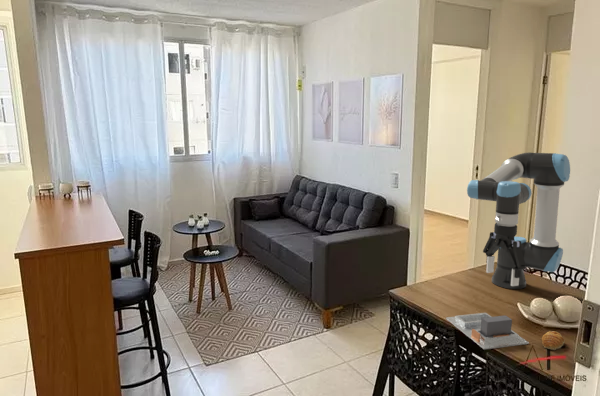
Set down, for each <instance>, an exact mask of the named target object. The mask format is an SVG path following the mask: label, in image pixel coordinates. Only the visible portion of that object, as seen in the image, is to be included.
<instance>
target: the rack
mask: <svg viewBox="0 0 600 396" xmlns="http://www.w3.org/2000/svg"><path fill="white" fill-rule="evenodd" d="M486 317H492V316H491V315H490V314H489V313H488V312H480V313H478V312H477V313H468V314H460V315H454V316H447V317H445V320H447V321H448V322H450V323H451V324H452V325H453V326H454V327H455V328H457V329H458V330H460V332H462V333H463V334H464V335H465V336H466V337H468V338H469V339H471V340H472V341H473V342H474V343H476V344H477V345H478V346H479V347H480V348H482V349H483V350H484V351H485V350H491V349H499V348H509V347H514V346H522V345H529V344H530V343H529V341H528V340H526V339H525V338H523V337H521V336H520V335H519V334H518V333H517V332H515V331H514V330H513V329H511V334H502V335H493V336H491V337H485V336H483V335H482V334H481V333H480V330H481V318H486Z"/></svg>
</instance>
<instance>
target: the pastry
mask: <svg viewBox="0 0 600 396" xmlns="http://www.w3.org/2000/svg"><path fill="white" fill-rule="evenodd" d="M565 342H566V341H565V339H564V337H563V336H562V334H561V333H559V332H558V331H551V330H549V331H547V332H546V333H545V334H543V335H542V337H541V343H542V347H544V349H548V350H552V351H556V350H559V349H562V347H563V346H564V344H565Z"/></svg>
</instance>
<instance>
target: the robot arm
mask: <svg viewBox="0 0 600 396" xmlns="http://www.w3.org/2000/svg"><path fill="white" fill-rule="evenodd" d="M570 175H571V163H570V160H569V158H568V156H567V155H566V154H562V153H557V152H555V153H554V152H522V153H519V154H515V155H513V156H511V157H509V158H507V159H506V160H504V161H503V162H502V163H501V165H500V166H499V167H498V168H496V169H495V170H494V171H492V172H491V173H490V174H488V175H487V176H485V177H484V178H483V179H481V180H480V179H479V180H478V179H476V180H475V179H472V180H469V182H468V184H467V189H466V192H467V196H468V197H469V198H470V199H475V200H481V201H482V200H483V201H489V202H491V201H492V202H496V203H495V204H496V205H495V218H494V222H495V224H494V228H493V229H494V230H493V231H492V232H491V231H490V233H489V237H488V239H487V242H486V244H485V246H484V248H483V250H482V253H484V254H485V256H486V260H485V261H486V270H485V273H487V274H491V273H493V274H492V276H491V283H492V284H493V285H495V286H498V287H501V288H505V289H509V290H510V289H511V290H521V289H522V290H523V289H525V288H526V287H527V280H526V276H525V272H524V270H526V269H527V268H530V269H534V270H539V271H543V272H548V273H554V272H556V271H557V270H558V269H559V267H560V264H561V262H562V258H563V254H564V249H563V248H562V247H559V246H560V242H559V241H558V240H557V239H556V237H557V236H556V235H557V226H558V225H557V224H558V214H559V213H558V212H559V201H560V189H561V188H562V187H564V185H565V183H566V182H568V181H569V180H570V177H571V176H570ZM520 178H521V179H533V185H535V186H536V188H537V190H536V192H537V193H536V202H535V203H536V204H535V215H534V217H535V219H534V227H533V229H534V232H533V237H532V238H530V239H529V242H528V241H527V238H525V237H522V236H517V234H518V223H519V213H520V212H519V210H520V205H521V204H523V203H527V201H528V200H529V199H531V196H532V189H531V187H530V185H528V184H526V183H523V182H518V181H513V180H517V179H520ZM496 253H497V260H496V261H497V262H496V267H495V256H496V255H495V254H496ZM494 269H495V270H494Z"/></svg>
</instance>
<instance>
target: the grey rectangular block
mask: <svg viewBox="0 0 600 396" xmlns="http://www.w3.org/2000/svg"><path fill="white" fill-rule="evenodd" d="M512 326H513V319H512V318H510V317H509V316H507V315H506V314H505V315H498V316H496V315H495V316H491V317H486V318H481V330H480V333H481V334H482V335H483V336H485V337H491V336H493V335H502V334H511V330H512V328H513V327H512Z"/></svg>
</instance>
